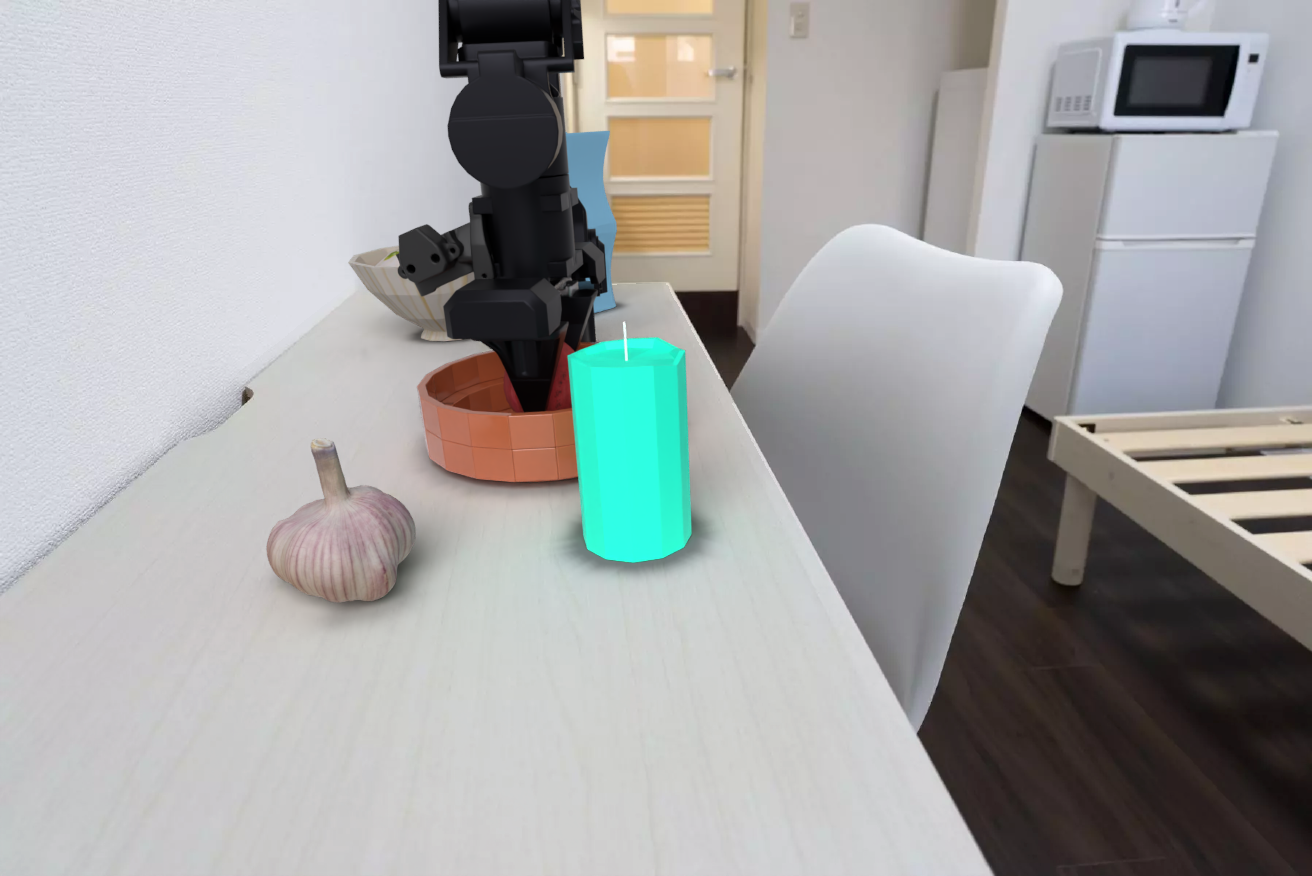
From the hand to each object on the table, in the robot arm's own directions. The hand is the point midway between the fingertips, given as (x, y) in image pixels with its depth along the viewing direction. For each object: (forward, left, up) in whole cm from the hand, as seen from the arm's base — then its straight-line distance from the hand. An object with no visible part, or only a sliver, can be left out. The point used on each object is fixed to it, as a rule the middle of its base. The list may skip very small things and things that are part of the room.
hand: (547, 405), depth 59 cm
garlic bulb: (+18, +10, -3) cm, 21 cm away
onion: (0, 0, -2) cm, 2 cm away
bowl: (-9, -36, -3) cm, 37 cm away
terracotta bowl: (0, 0, -3) cm, 3 cm away
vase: (-25, -36, -3) cm, 44 cm away
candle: (+4, +16, -3) cm, 17 cm away
